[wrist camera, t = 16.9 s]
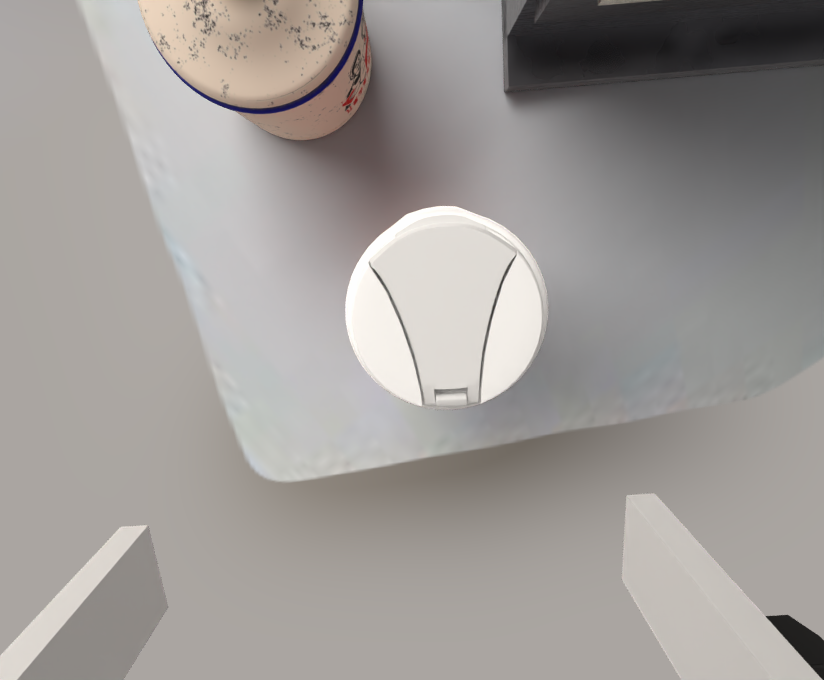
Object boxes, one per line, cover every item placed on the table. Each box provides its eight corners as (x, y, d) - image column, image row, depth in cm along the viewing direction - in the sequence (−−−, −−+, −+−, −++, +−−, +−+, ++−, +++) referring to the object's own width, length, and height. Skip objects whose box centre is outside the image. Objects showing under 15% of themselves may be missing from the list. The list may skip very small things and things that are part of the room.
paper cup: (503, 334, 31) (558, 417, 17) (387, 341, 31) (350, 428, 17) (499, 211, 29) (556, 194, 15) (376, 222, 29) (325, 213, 16)
